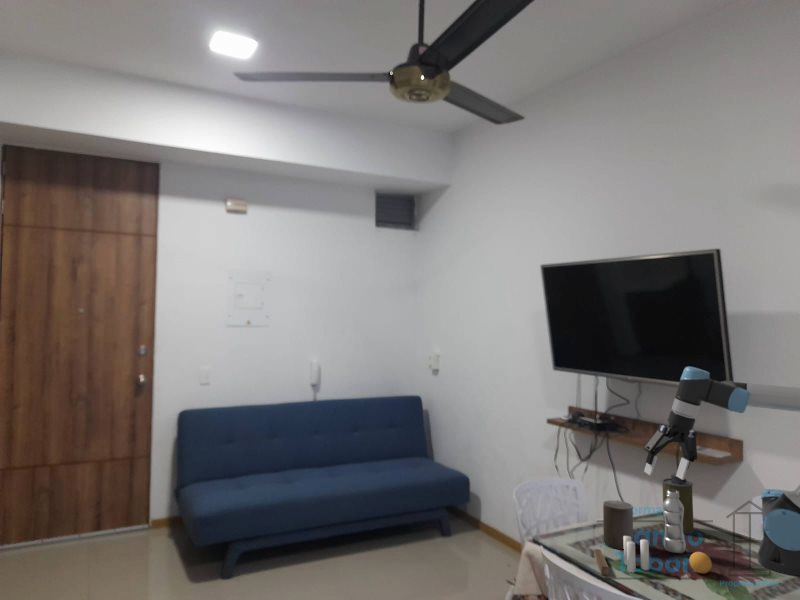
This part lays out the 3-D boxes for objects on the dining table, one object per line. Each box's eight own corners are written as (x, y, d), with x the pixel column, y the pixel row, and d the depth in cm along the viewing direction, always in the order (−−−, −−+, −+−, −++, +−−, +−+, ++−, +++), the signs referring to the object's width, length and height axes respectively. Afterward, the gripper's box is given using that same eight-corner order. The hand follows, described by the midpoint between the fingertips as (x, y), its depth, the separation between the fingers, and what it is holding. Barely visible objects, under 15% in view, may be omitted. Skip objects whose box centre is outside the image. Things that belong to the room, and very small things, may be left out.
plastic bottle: (688, 556, 185) (686, 494, 186) (666, 555, 186) (664, 493, 187) (682, 549, 191) (681, 488, 192) (661, 547, 192) (659, 487, 194)
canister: (687, 536, 203) (685, 479, 204) (658, 528, 211) (656, 474, 212) (699, 529, 211) (697, 474, 212) (670, 522, 218) (668, 469, 219)
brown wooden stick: (600, 557, 184) (600, 549, 185) (608, 575, 171) (608, 566, 171) (594, 556, 185) (594, 549, 185) (601, 574, 171) (601, 566, 171)
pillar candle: (603, 547, 193) (603, 503, 193) (603, 537, 202) (602, 495, 203) (634, 551, 190) (634, 506, 190) (632, 541, 199) (632, 497, 200)
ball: (707, 569, 175) (707, 549, 175) (715, 577, 169) (714, 557, 169) (687, 567, 176) (686, 548, 176) (693, 576, 170) (692, 555, 170)
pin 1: (631, 563, 180) (630, 535, 180) (632, 566, 177) (632, 538, 178) (623, 562, 180) (622, 535, 180) (624, 565, 178) (624, 538, 178)
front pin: (648, 567, 176) (647, 539, 177) (650, 570, 174) (649, 542, 174) (640, 566, 177) (639, 539, 177) (641, 570, 174) (641, 541, 175)
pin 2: (634, 569, 175) (634, 541, 175) (636, 573, 172) (635, 544, 173) (626, 569, 175) (625, 541, 176) (628, 572, 173) (627, 543, 173)
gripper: (702, 415, 190) (683, 474, 192) (645, 404, 182) (625, 466, 184) (721, 423, 183) (701, 484, 185) (662, 413, 175) (642, 477, 177)
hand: (663, 475), depth 184 cm, fingers open, 13 cm apart
